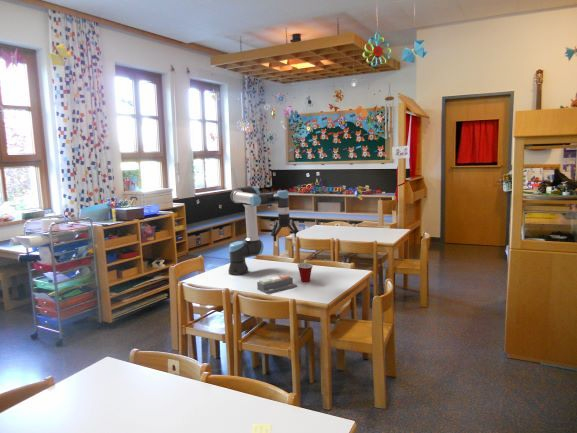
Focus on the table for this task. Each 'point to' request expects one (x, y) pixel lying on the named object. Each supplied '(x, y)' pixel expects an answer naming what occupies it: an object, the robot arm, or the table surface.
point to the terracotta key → (284, 277)
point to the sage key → (265, 281)
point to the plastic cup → (305, 271)
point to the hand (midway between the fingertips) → (285, 244)
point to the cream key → (275, 279)
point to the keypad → (276, 286)
